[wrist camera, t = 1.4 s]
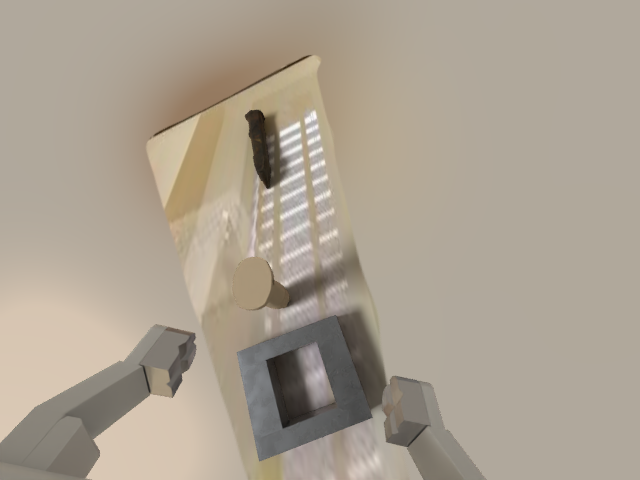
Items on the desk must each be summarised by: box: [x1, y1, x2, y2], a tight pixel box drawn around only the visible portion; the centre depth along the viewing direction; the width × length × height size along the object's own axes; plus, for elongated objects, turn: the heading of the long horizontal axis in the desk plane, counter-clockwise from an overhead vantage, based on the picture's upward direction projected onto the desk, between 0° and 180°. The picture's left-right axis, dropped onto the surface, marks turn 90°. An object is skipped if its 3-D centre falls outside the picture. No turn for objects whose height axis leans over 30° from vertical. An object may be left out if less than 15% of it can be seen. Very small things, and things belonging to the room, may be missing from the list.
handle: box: [232, 257, 290, 310], centre depth 39 cm, size 5×6×15 cm
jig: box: [237, 315, 373, 461], centre depth 39 cm, size 14×16×4 cm
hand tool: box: [245, 110, 271, 189], centre depth 56 cm, size 19×4×5 cm, turn 10°
